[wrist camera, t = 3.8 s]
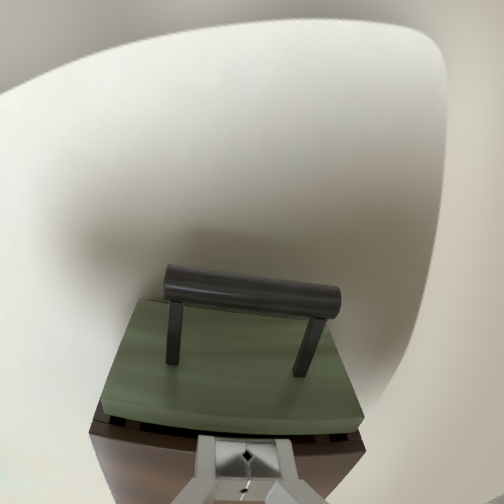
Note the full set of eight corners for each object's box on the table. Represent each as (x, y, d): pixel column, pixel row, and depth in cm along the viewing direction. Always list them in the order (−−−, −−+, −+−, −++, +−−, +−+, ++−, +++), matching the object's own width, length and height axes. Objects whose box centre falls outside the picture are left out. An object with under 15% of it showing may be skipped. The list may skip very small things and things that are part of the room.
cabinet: (133, 312, 20) (87, 432, 11) (322, 334, 21) (367, 451, 13) (141, 437, 25) (126, 525, 16) (274, 449, 27) (286, 536, 18)
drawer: (142, 219, 16) (85, 296, 9) (349, 249, 18) (413, 332, 11) (144, 429, 23) (131, 507, 16) (276, 442, 25) (287, 518, 18)
